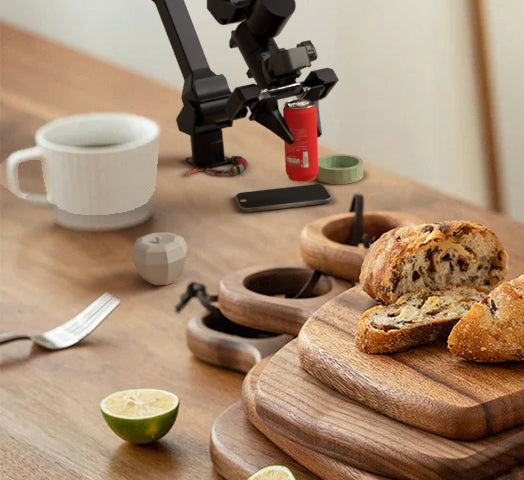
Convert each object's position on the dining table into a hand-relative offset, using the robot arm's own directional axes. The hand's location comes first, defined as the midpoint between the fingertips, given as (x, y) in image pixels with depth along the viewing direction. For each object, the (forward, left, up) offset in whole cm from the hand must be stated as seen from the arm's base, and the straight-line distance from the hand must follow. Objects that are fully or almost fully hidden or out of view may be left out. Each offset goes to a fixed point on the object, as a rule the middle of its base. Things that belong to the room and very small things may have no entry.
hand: (306, 139), depth 168 cm
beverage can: (-1, 0, -7) cm, 7 cm away
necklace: (-26, -2, -12) cm, 28 cm away
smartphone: (-6, -1, -11) cm, 13 cm away
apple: (+10, -31, -12) cm, 35 cm away
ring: (-9, +13, -11) cm, 20 cm away
